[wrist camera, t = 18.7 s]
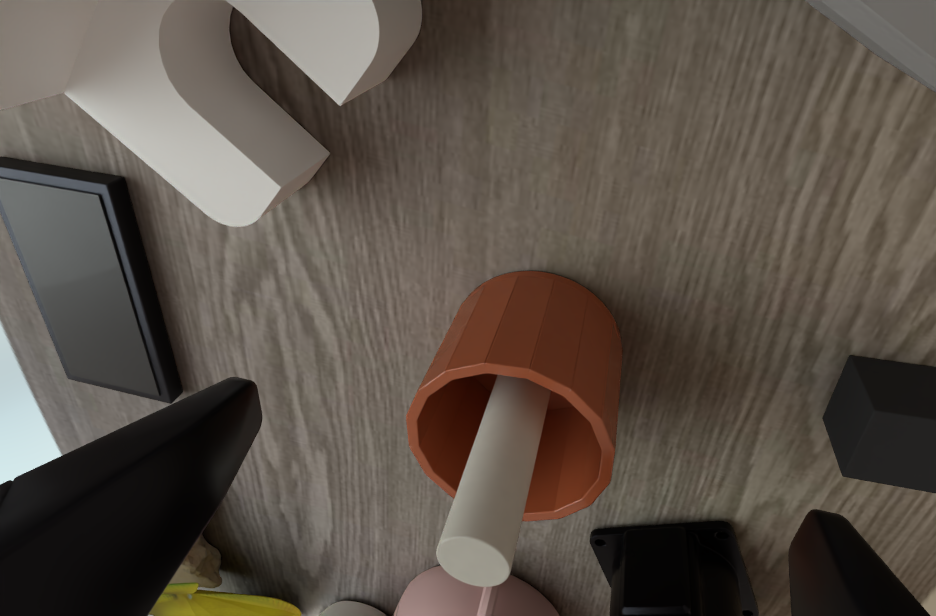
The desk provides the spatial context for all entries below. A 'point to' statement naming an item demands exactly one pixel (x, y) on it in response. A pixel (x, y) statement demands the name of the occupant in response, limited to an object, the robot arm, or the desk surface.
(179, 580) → the stone
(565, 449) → the pen cup
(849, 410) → the plain black cube
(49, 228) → the tablet
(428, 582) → the mug
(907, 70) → the grey aluminium rail
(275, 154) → the u-slot mount
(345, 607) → the mug
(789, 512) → the desk surface
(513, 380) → the plain white cylinder
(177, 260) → the desk surface
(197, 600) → the fish
